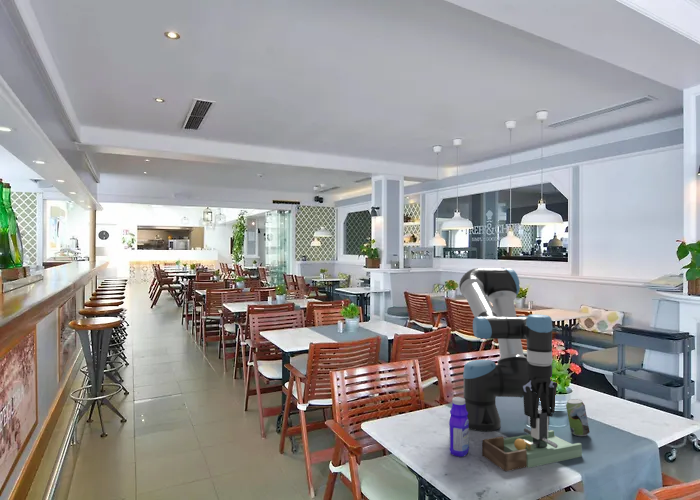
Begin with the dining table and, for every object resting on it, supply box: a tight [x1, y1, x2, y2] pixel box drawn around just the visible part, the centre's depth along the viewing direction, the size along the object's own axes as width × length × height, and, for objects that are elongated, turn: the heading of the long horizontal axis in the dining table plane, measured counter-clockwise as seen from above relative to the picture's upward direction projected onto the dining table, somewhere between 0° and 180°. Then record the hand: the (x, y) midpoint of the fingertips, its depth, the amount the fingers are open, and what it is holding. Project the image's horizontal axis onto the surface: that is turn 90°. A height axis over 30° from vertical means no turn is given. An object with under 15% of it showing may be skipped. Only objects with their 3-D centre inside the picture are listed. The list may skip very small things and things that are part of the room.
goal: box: [481, 435, 527, 472], centre depth 133 cm, size 8×11×5 cm
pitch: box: [504, 429, 583, 469], centre depth 138 cm, size 22×12×4 cm, turn 110°
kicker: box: [523, 409, 558, 451], centre depth 137 cm, size 7×13×11 cm, turn 20°
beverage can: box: [565, 398, 590, 437], centre depth 154 cm, size 6×7×12 cm
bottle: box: [448, 396, 470, 458], centre depth 139 cm, size 7×6×17 cm
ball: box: [514, 439, 526, 450], centre depth 135 cm, size 4×4×4 cm
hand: (539, 436), depth 138 cm, fingers closed on kicker, 3 cm apart
